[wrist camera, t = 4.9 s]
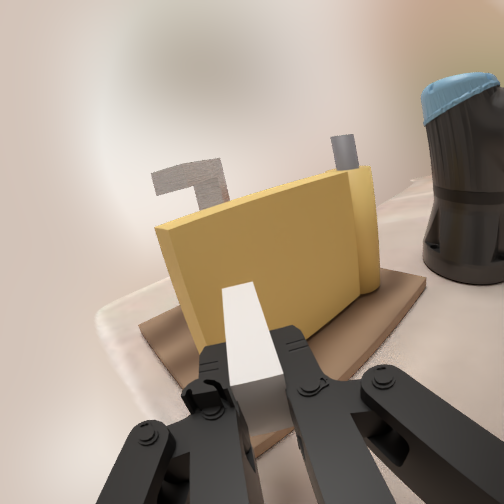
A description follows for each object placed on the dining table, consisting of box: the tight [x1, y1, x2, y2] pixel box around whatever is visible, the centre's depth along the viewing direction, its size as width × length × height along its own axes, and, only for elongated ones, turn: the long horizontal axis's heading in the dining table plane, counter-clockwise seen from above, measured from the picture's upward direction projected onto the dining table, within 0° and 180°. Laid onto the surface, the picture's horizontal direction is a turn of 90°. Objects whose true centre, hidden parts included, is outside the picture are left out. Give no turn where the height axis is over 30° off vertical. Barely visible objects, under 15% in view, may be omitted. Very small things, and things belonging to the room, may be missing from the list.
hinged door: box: [155, 134, 380, 355], centre depth 22 cm, size 20×4×15 cm, turn 128°
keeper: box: [151, 158, 230, 211], centre depth 30 cm, size 12×3×17 cm, turn 172°
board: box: [138, 268, 426, 458], centre depth 28 cm, size 22×25×1 cm
